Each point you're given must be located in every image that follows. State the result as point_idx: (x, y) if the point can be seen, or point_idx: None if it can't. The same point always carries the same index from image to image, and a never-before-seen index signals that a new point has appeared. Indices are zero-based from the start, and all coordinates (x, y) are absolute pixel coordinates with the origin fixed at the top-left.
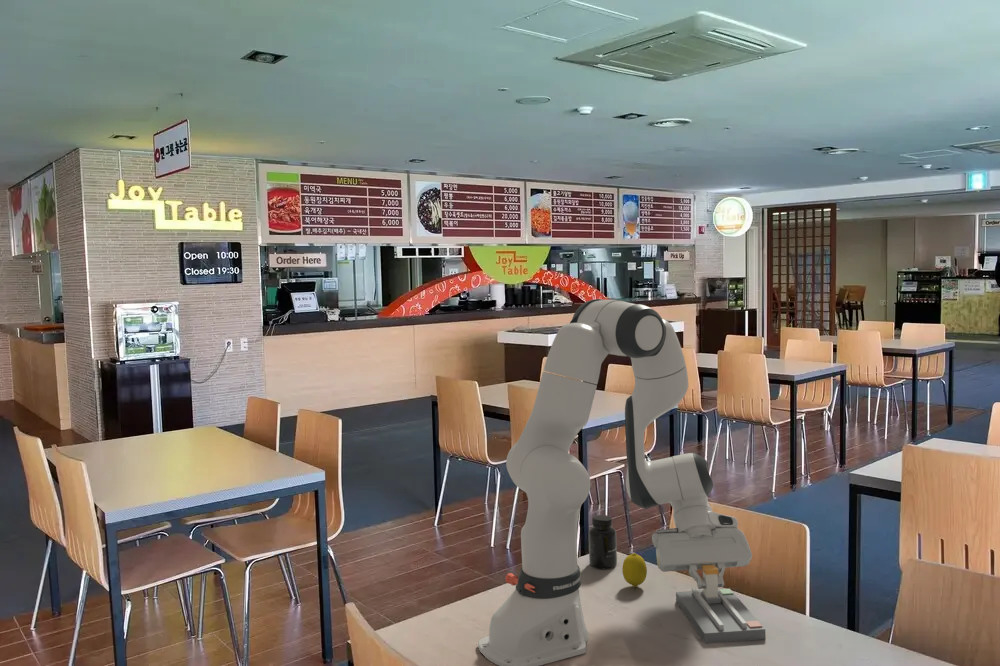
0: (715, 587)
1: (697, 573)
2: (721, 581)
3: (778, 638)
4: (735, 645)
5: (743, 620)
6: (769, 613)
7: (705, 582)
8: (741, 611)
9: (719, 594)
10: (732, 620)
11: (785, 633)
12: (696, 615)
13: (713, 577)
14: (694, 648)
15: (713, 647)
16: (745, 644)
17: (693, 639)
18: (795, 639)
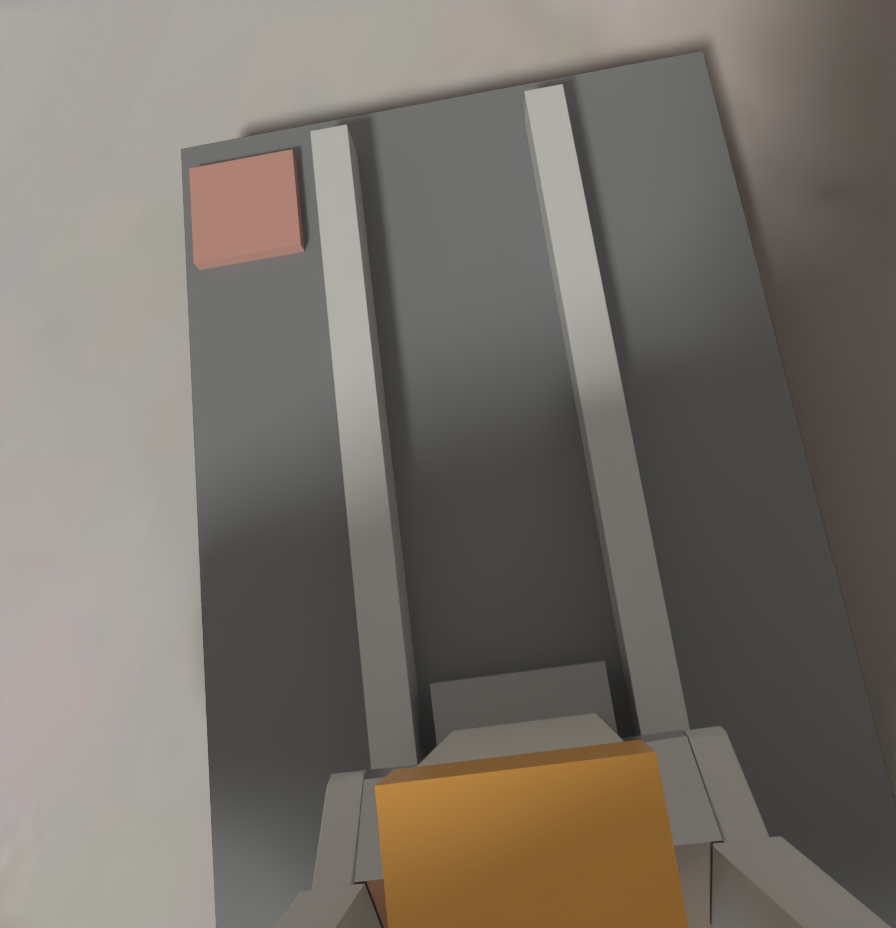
0: (473, 739)
1: (794, 924)
2: (360, 795)
3: (122, 215)
4: None
5: (324, 175)
6: (20, 658)
7: None
8: (275, 482)
9: None
10: (408, 295)
11: (43, 291)
12: (743, 396)
13: (491, 755)
14: (774, 40)
15: (626, 63)
16: None
17: (771, 172)
18: (14, 205)
